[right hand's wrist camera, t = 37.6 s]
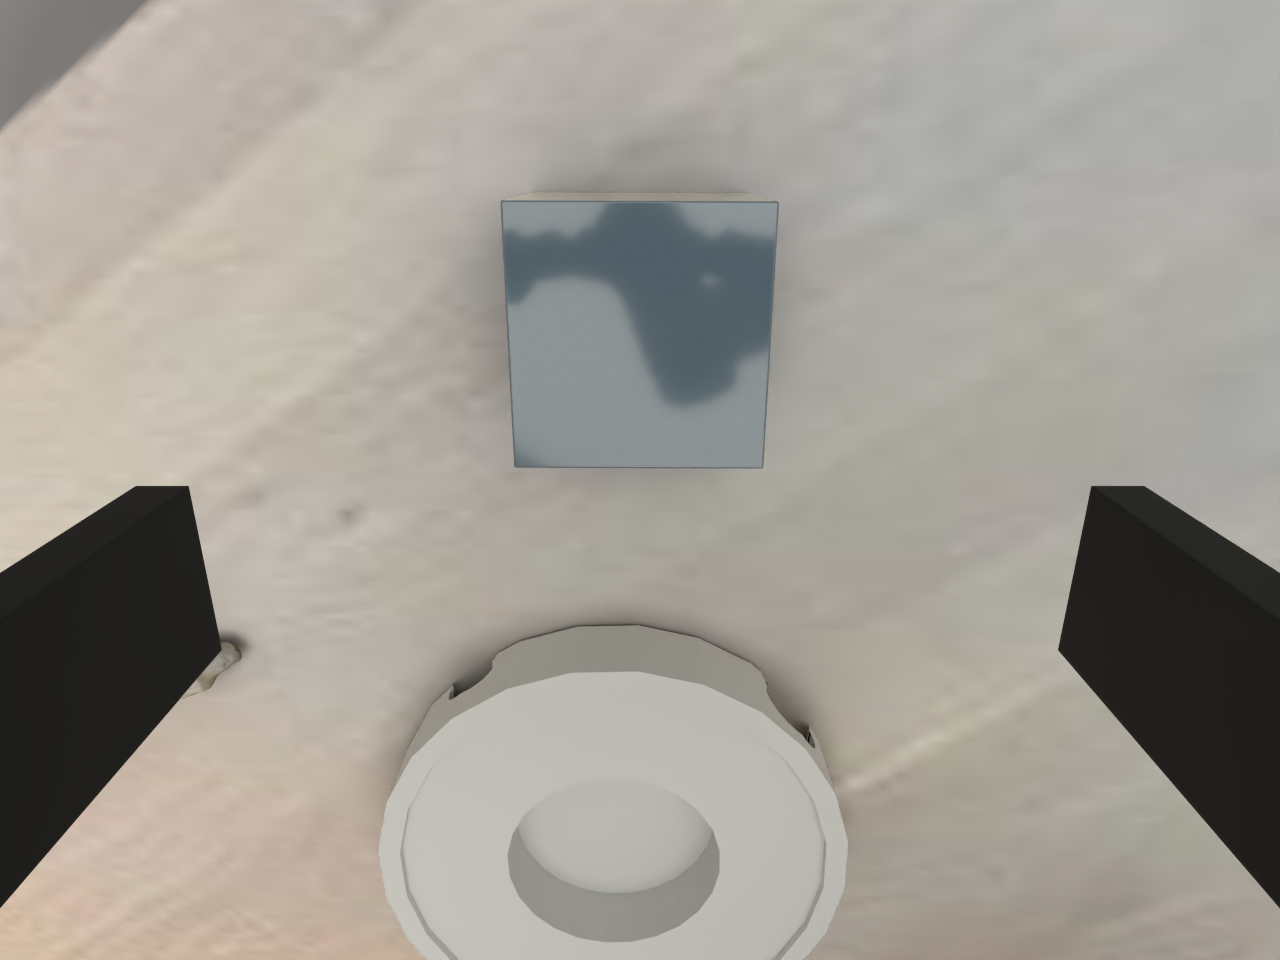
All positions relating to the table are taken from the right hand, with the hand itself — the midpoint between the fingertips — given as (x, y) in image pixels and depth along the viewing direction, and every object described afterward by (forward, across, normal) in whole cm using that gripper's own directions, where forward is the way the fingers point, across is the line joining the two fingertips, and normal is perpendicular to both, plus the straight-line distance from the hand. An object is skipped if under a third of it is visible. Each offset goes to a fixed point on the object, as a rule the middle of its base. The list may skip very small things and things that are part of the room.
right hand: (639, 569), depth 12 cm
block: (+25, 0, 0) cm, 25 cm away
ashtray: (+25, +1, +27) cm, 37 cm away
